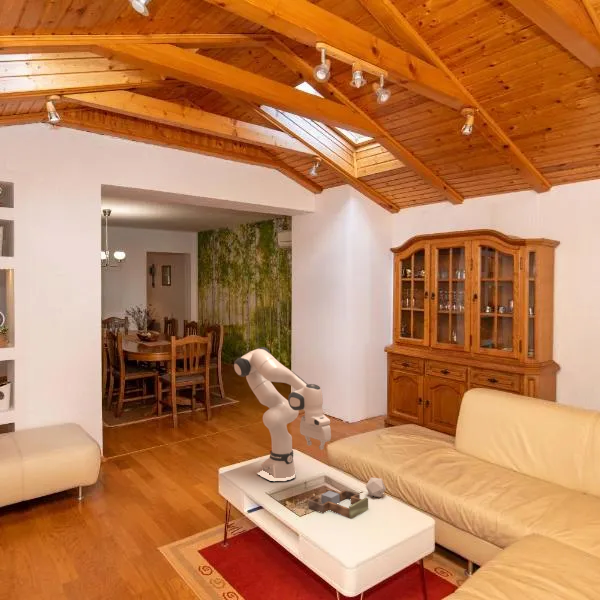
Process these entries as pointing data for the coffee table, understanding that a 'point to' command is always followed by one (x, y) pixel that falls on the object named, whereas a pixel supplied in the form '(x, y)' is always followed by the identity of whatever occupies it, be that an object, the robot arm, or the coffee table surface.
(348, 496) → the box
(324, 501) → the block
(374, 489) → the die
